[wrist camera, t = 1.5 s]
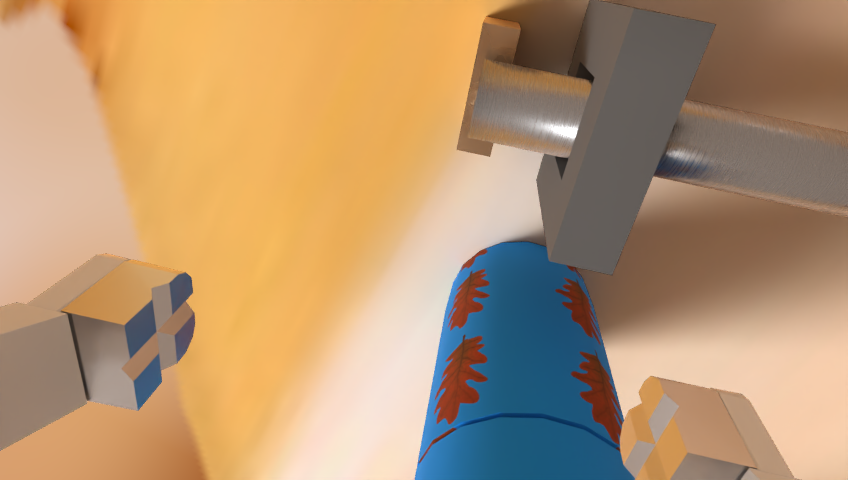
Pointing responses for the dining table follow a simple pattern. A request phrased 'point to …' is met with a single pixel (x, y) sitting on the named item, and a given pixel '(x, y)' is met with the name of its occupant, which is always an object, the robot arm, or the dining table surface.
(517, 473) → the thermos
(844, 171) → the pipe rig
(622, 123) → the collar
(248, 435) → the dining table surface
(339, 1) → the dining table surface
